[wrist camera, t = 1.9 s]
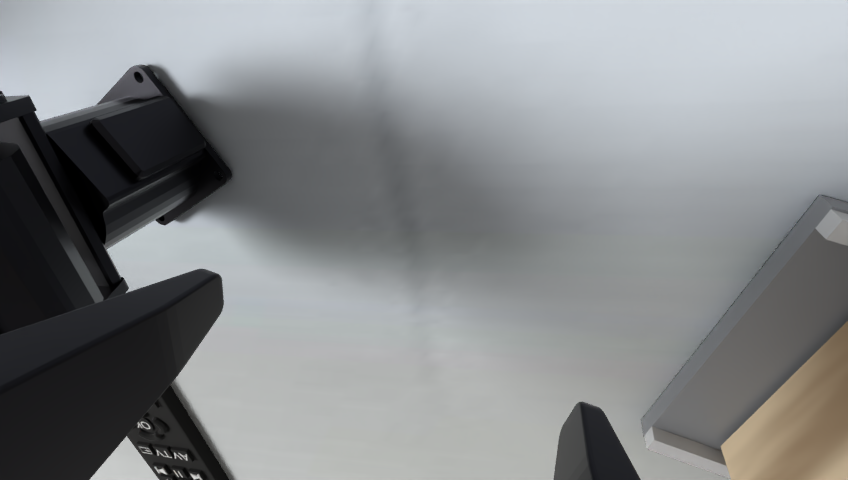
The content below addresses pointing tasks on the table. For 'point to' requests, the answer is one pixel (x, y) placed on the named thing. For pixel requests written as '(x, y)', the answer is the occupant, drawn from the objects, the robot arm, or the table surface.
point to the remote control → (174, 443)
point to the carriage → (799, 424)
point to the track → (757, 341)
